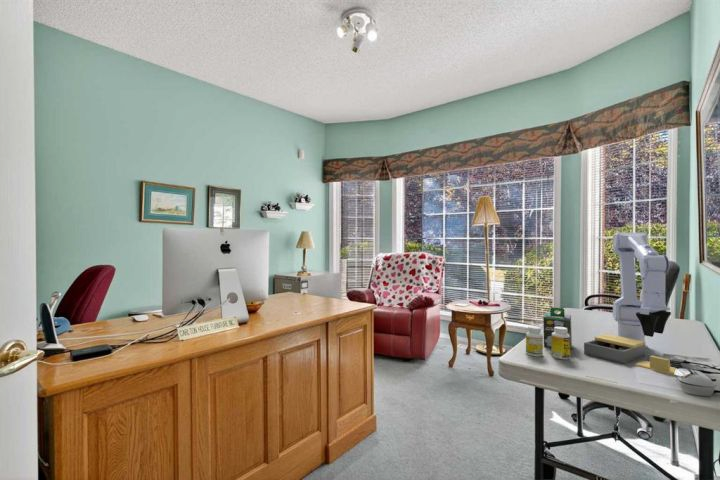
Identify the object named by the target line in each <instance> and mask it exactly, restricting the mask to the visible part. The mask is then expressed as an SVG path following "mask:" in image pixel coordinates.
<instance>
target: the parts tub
mask: <svg viewBox="0 0 720 480" xmlns="http://www.w3.org/2000/svg"><path fill="white" fill-rule="evenodd" d="M645 345H646V340H645V341H640V340H635V339H630V338H625V337H620V336H618V335H613V334H609V333H606V334H601V335H597V336H595V337H594V340H593V339H592V340H588V341H585V342H583V349H584V351H583V355H587V356H592V357H595V358H599V359H603V360H607V361H611V362H615V363H619V364H623V365H624V364H627V363H630V362H633V361H636V360H637V359H641V358H644V357H646V347H645Z"/></svg>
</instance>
